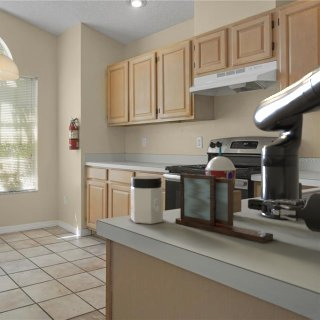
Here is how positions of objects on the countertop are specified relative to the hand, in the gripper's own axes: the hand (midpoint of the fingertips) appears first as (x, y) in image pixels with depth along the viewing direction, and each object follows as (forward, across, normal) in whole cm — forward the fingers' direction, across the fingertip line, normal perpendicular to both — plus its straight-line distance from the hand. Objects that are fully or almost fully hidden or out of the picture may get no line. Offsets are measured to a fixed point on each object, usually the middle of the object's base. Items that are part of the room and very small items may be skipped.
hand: (249, 203), depth 76 cm
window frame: (+6, +3, +7) cm, 10 cm away
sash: (+8, 0, +6) cm, 9 cm away
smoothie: (+17, -14, +7) cm, 23 cm away
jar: (+24, +9, +7) cm, 27 cm away
